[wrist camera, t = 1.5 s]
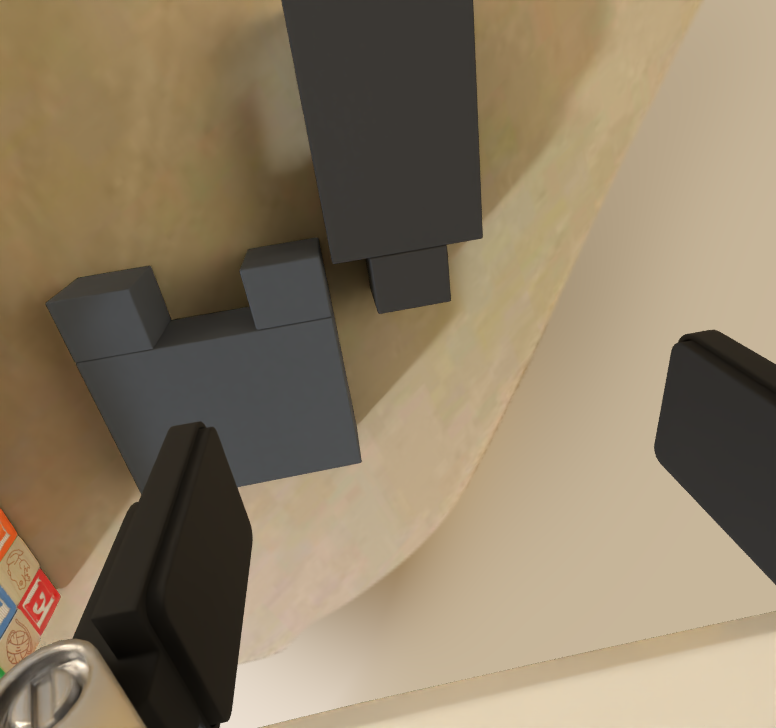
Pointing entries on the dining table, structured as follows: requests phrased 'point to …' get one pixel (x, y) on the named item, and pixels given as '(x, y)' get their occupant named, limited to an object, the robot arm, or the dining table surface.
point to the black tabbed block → (392, 135)
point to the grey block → (219, 366)
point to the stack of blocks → (21, 598)
